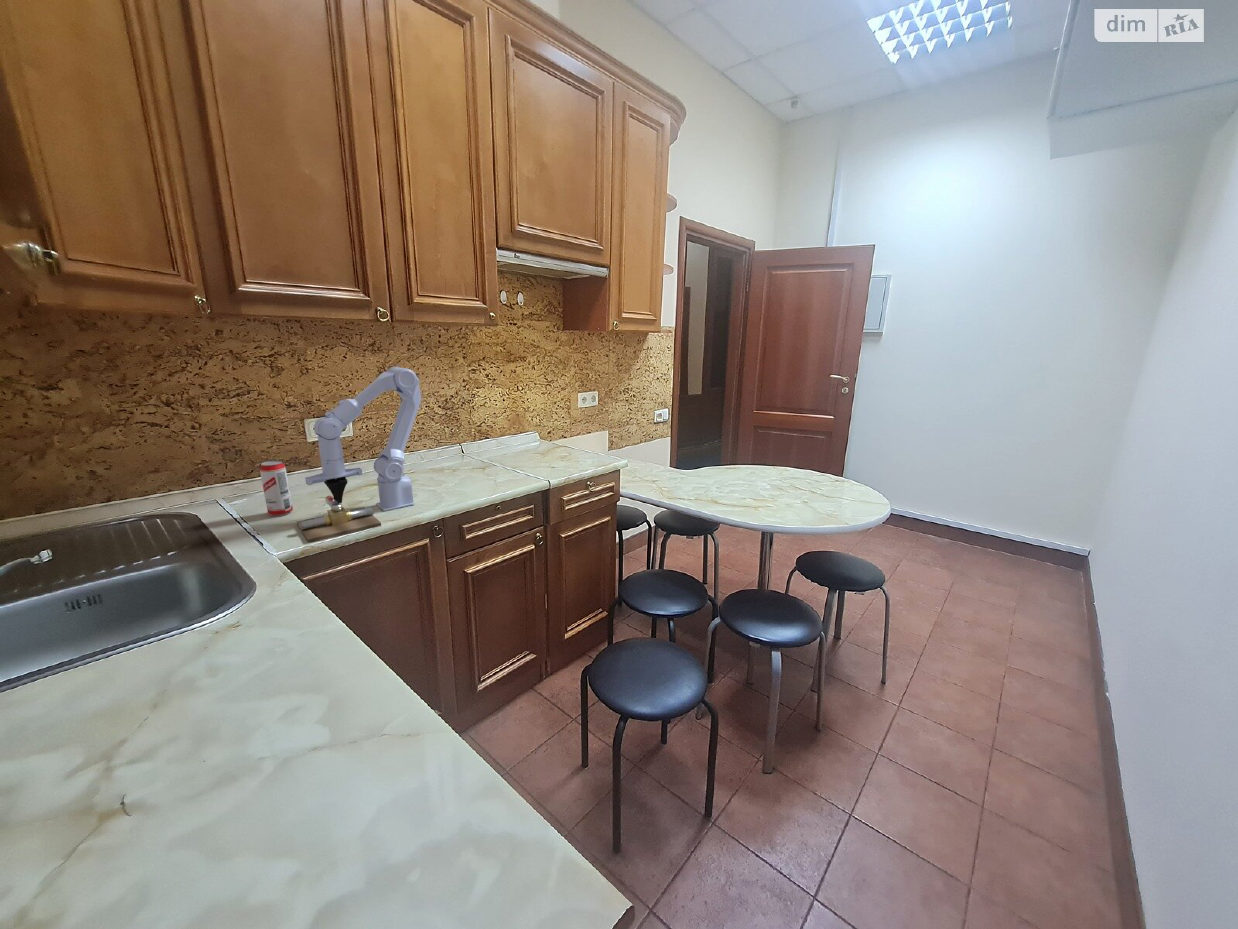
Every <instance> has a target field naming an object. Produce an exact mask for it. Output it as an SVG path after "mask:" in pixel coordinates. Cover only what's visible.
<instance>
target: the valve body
mask: <svg viewBox="0 0 1238 929" xmlns="http://www.w3.org/2000/svg"><path fill="white" fill-rule="evenodd" d="M363 508H364V507H363ZM358 509H359V508H358ZM350 510H351V509H349V510H346V509H345V507H343V506H342V509H341V510H337V511H332V510H331V509H328V510H327V514H324V515H323V516H324V517H321V518H316V517H315V518H316V519H312V520H307V521H302V522H300V526H301V529H302V530H306V529H311V528H315V527H320V526H324V525H326V526H329V525H332V526H335V525H339V524H344V523H348V521H352V519H356V518H361V517H365V516H370V515H373V516H374V510H373V507H372V506H370V507H365V508H364V509H359V510H355V511H350Z"/></svg>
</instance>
